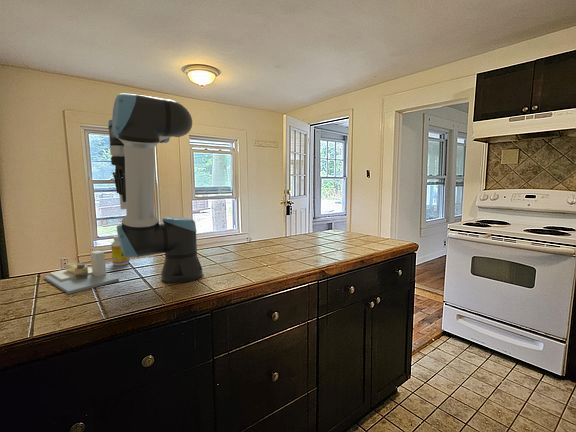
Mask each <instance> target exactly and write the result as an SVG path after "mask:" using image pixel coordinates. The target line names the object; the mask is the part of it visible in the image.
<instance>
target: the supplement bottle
mask: <svg viewBox="0 0 576 432" xmlns="http://www.w3.org/2000/svg"><path fill="white" fill-rule="evenodd" d="M112 237H113V241H112V242H111V257H112V258H111V259H112V265H113V266H117V267H120V266H125V265H128V264H130V258H128V257H125V256H124V255H123V253H122V250H121V246H120V242H119V238H118V234H117V235H113V236H112Z"/></svg>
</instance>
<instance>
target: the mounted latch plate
mask: <svg viewBox="0 0 576 432" xmlns="http://www.w3.org/2000/svg"><path fill="white" fill-rule="evenodd" d="M89 253H90V261H91V262H90V263H91V264H90V265H91V266H87V265H85V263H77V264H78V265H77V268H82V267H85V266H86V267H88V274H87V275H85V276H75V274H73V273H71V272H69V271H67V270H66V269H62V270H61V269H60V270H56V271H52V272H50V273H49V274H48V275H44V277H43V278H44V280H46V281H48V282H49V283H51V284H52V285H54V287H57V288H59V289H60V290H61V291H63V292H64V293H66V294H68V295H70V294H74V293H77V292H82V291H85V290H90V289H93V288H98V287H101V286H105V285H108V284H113V283H117V282H119V281H120V278H119V277H117V276H115V275H112V274H109V273H107V269H106V258H105V257H106V255H105V251H102V250H93V251H90V252H89Z"/></svg>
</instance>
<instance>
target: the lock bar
mask: <svg viewBox="0 0 576 432" xmlns="http://www.w3.org/2000/svg"><path fill="white" fill-rule="evenodd" d="M78 264H79V263H75V262H73V261H72V262H67V263H65V264H64V265H65V270H67V271H69V272H71V273H73V274H75V276H85V275H87V274H88V267H89V266H87V265H85V267H82V268H77V265H78ZM86 266H87V267H86Z"/></svg>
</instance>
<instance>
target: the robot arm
mask: <svg viewBox="0 0 576 432" xmlns="http://www.w3.org/2000/svg"><path fill="white" fill-rule="evenodd" d="M111 117H112V118H111V119H109V120H108V121H107V122H108V128H107V130H108V135H109V137H108V138H109V151H110V154H109V155H111V157H110V162H111V163H110V164H111V165H112V166H114V167H115V168H114V171H112V177H113V180H114V184H115V189H116V193H117V194H118V195H119V203H120V204H119V205H120V210H125V211H126V215H125V216H124V217H122V219H121V224H119V225H117V226H116V232H117V235H118V238H119V242H120V246H121V250H122V253H123V255H124V256H125V257H128V258H129V259H130V258H140V257H145V256H151V255H158V254H164V256H165V257H164V258H165V259H164V262H163V266H162V270H161V273H160V277H161V281H163V282H165V283H172V284H181V283H187V282H192V281H196V280H198V279H200V278H202V276H203V275H204V274H203V268H202V265H201V262H200V260H199V257H198V248H197V247H198V246H197V245H198V244H197V242H198V241H197V226H196V221H195V220H194V219H192V218H188V217H179V216H164V217H163V218H162V219H161V220H162V221H159V217H158V216H156V215H155V147H156V146H157V145H158V144H163V143H165V144H167V143H169V142H170V140H171V139H170V138H173V137H174V138H180V137H184V136H185V135H187V134H188V133H190V131H191V129H192V127H193V118H192V115H191V113H190V112H189V110H188V109H187V108H186V107H185V106H184V105H182V104H181V103H180V102H178V101H176V100H172V99H167V98H159V97H154V96H153V97H152V96H147V95H140V94H136V93H119V94H117V95H116V97H115V100H114V102H113V107H112V116H111Z"/></svg>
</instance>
